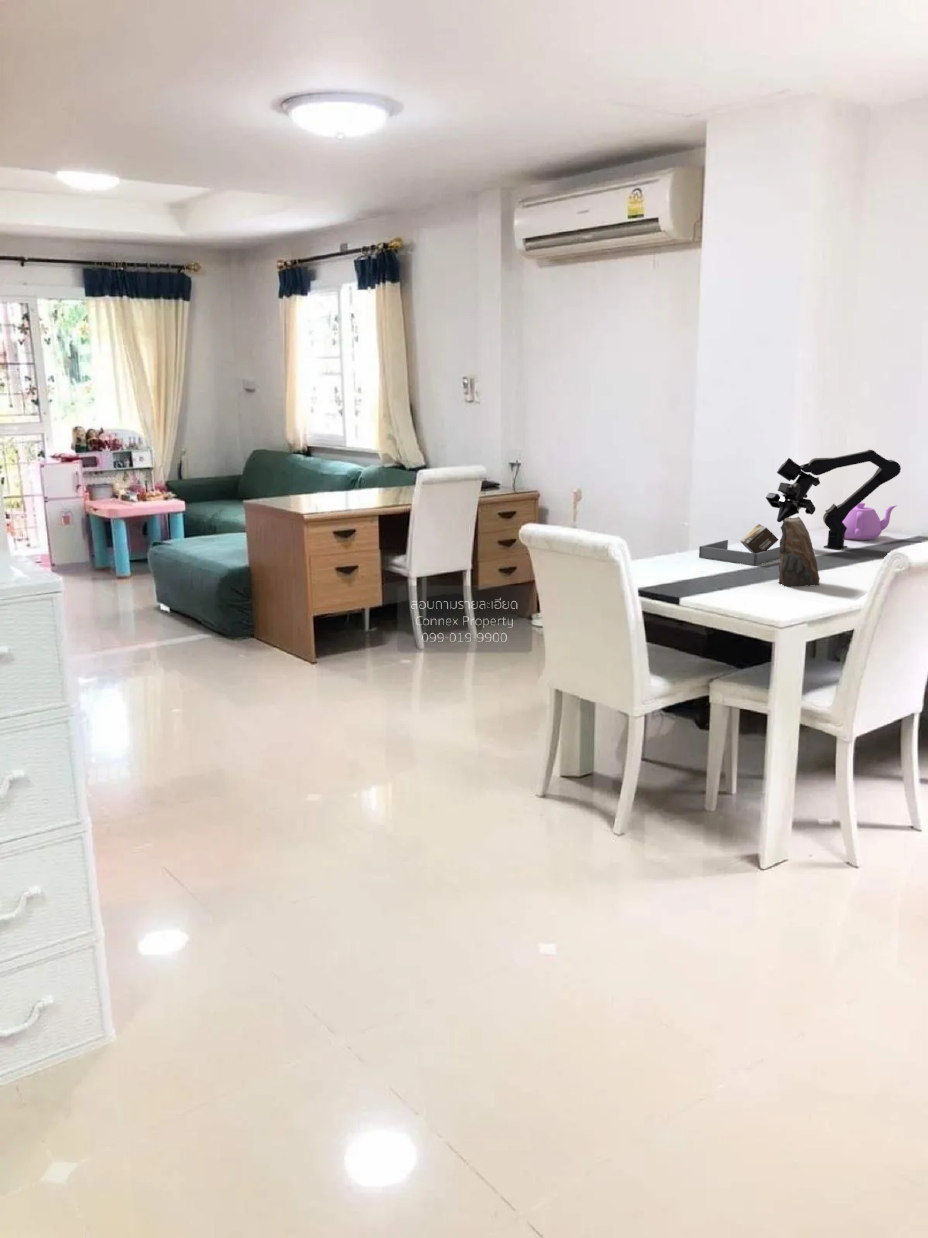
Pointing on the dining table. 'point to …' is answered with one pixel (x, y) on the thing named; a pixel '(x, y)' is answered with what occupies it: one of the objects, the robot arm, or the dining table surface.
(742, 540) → the coffee box
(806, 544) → the brown rock
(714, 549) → the box
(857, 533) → the teapot
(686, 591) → the dining table surface
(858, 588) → the dining table surface
